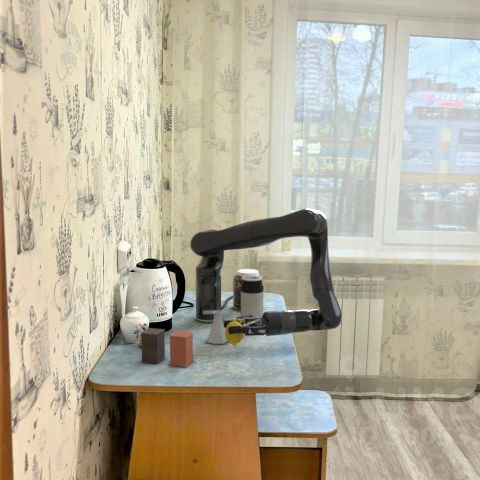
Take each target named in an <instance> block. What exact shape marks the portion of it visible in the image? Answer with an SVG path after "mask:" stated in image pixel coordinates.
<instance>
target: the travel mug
mask: <svg viewBox="0 0 480 480" xmlns="http://www.w3.org/2000/svg"><path fill="white" fill-rule="evenodd" d="M242 280H243V284H242V285H241V311H240V316H246V315H254V317H258V318H262V316H263V313H264V289H265V286H264V284H263V285H262V280H264V277H263V276H262V277H261V275H260V276H256V275H248V276H243V277H242ZM240 322H243V321H240Z"/></svg>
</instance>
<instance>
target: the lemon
mask: <svg viewBox="0 0 480 480" xmlns="http://www.w3.org/2000/svg"><path fill="white" fill-rule="evenodd" d="M232 320H233V321H232V322H230V323H229V324H228V325H227V327H226V328H225V336H226V339H227V341H228V343H229V344H231V345H232V346H236V345H238V344H240V343H241V342H242V340H243V338H244V334H241V333H237V334H229V333H228V327H229V326H239V325H240V326H241V324H240V323H239V322H237V321H236V319H232Z"/></svg>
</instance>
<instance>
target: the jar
mask: <svg viewBox="0 0 480 480" xmlns="http://www.w3.org/2000/svg"><path fill="white" fill-rule="evenodd" d="M248 275H256V276H261V274H259V270H258V269H255V268H254V269H253V268H242V269H238V270H237V274H234V276H233V280H232V281H233V282H232V296H233V298H232V309H233V310H235V311H237V312H241V285H242V284H243V280H242V277H243V276H248ZM261 277H263V276H261ZM263 280H264V279H262V285H263V286H264V284H263V282H264V281H263Z"/></svg>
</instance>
